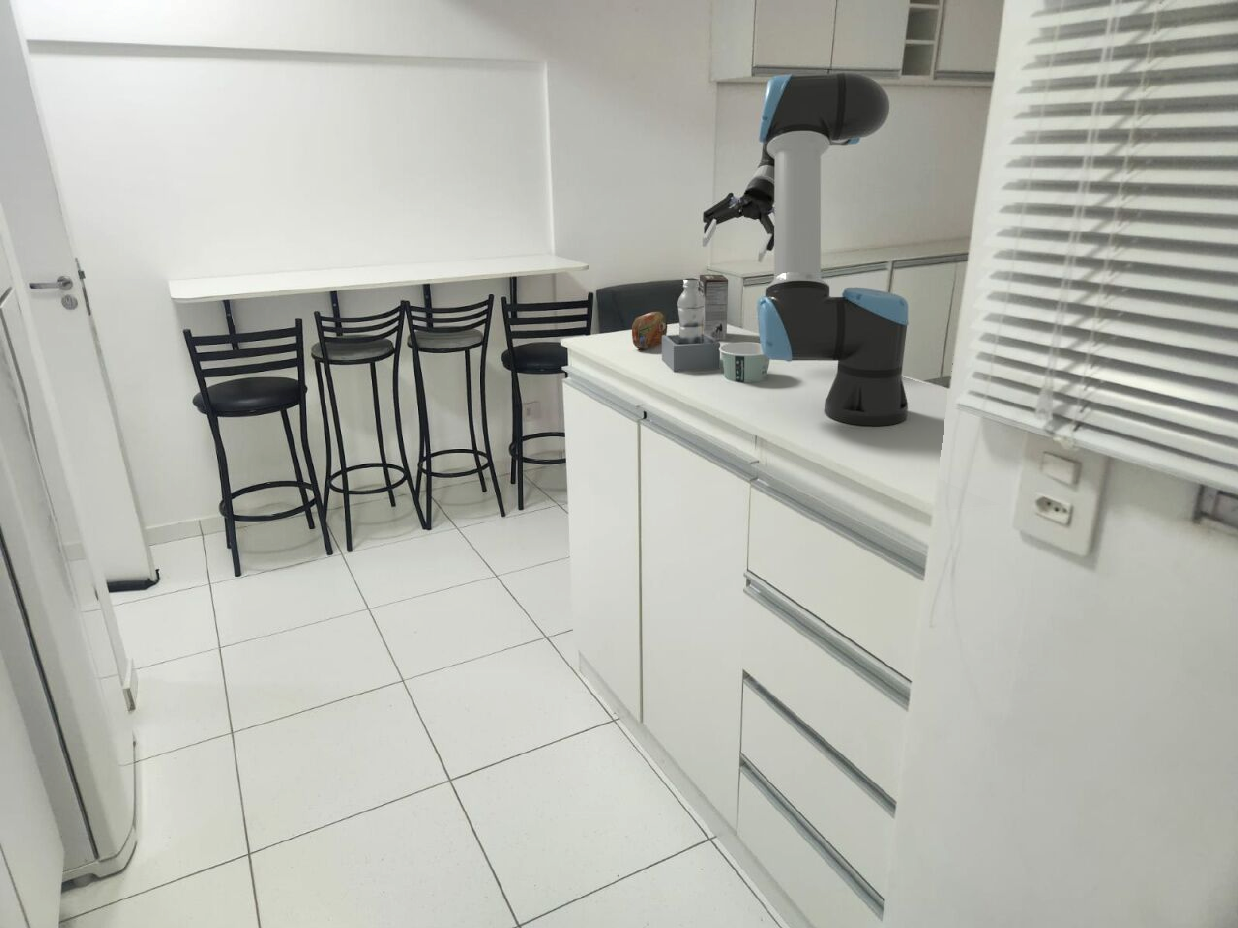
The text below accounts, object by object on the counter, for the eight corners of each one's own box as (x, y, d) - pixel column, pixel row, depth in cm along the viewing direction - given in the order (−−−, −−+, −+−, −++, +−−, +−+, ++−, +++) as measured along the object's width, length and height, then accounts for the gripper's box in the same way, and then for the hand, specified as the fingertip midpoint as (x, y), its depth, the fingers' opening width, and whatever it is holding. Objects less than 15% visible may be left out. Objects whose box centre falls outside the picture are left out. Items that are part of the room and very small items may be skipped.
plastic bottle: (670, 364, 192) (670, 279, 185) (690, 359, 196) (691, 276, 189) (690, 369, 187) (691, 282, 180) (709, 364, 192) (711, 279, 184)
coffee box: (698, 333, 224) (699, 274, 218) (721, 332, 224) (722, 274, 218) (703, 340, 215) (704, 279, 210) (727, 339, 216) (728, 278, 210)
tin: (640, 352, 204) (640, 319, 201) (629, 351, 206) (629, 318, 203) (668, 340, 216) (668, 309, 213) (658, 339, 218) (658, 308, 215)
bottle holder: (719, 368, 187) (720, 343, 185) (673, 371, 185) (674, 346, 183) (705, 356, 198) (705, 332, 196) (661, 359, 196) (661, 335, 194)
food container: (771, 384, 174) (773, 355, 171) (716, 383, 176) (716, 353, 174) (772, 370, 185) (774, 342, 182) (720, 369, 187) (721, 341, 185)
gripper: (811, 214, 193) (782, 275, 184) (714, 190, 200) (681, 248, 191) (815, 189, 187) (785, 251, 178) (715, 165, 194) (681, 224, 184)
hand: (731, 250), depth 184 cm, fingers open, 13 cm apart
